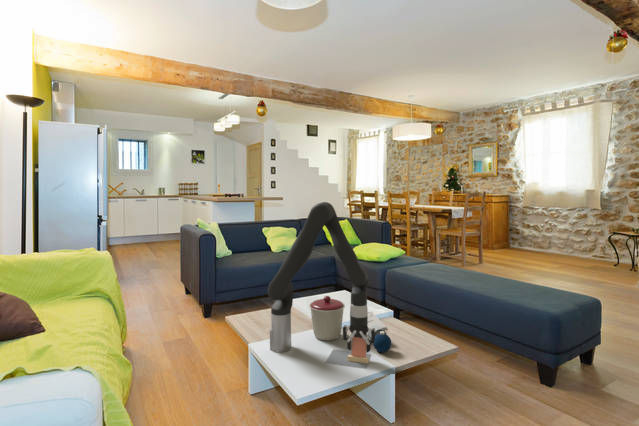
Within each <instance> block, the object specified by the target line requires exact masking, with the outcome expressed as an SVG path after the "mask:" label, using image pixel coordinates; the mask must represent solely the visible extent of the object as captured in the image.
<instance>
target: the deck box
mask: <svg viewBox="0 0 639 426" xmlns="http://www.w3.org/2000/svg"><path fill="white" fill-rule="evenodd" d="M351 352H352V355H353V356H361V357H366V354H367V343H366V341H365V340H364V339H363V338H359V337H354V336H353V338H352V342H351Z"/></svg>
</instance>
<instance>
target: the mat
mask: <svg viewBox="0 0 639 426" xmlns="http://www.w3.org/2000/svg"><path fill="white" fill-rule="evenodd" d="M372 355H373V354H372V353H366V357H361V356H353V355H352V351H351V350H343V349H342V350H341V349H332V351H331V352H330V354H329V355H328V357H327V358H326V360H325V362H324V364H328V365H337V366H345V367H351V368H357V369H364V370H365V369H366V370H367V368H368V366H369V362H370V360H371V357H372Z"/></svg>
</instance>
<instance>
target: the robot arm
mask: <svg viewBox="0 0 639 426" xmlns="http://www.w3.org/2000/svg"><path fill="white" fill-rule="evenodd" d="M324 227H325V228H326V230H327V231H328V233H329V236H330V238H331V242H332V245H333V248H334V250H335V253H336V255H337V257H338V259H339V261H340V262H341V264H342V265H343V268H344V270H345V272H346V275H347V277H348V279H349V282H350V283H351V285H352V286H351V287H352V288H351V292H350V308H349V309H350V311H349V326H348V325H345V324H344V326H343V327H342V340H343V341H345V342H346V348H347V350H348V351H352V340H353V336H354V337H359V338H363V339H364V340H365V341H366V343H367V349H366V354H369V353H370V351H371V345H373V344H374V341H375V329H374V328H373V329H369V328H368V312H369V311H368V310H369V309H368V284H369V282H368V281H369V274H368V271H367V269H365V268H364V267H362V266H361V265H360V263H359V261H358V256H357V254H356V252H355V251H354V249H353V247H352V245H351V244H350V242H349V240H348V238H347V237H346V234H345V232H344V230H343V227H342V226H341V224H340V220H339V218H338V215H337V212H336V210H335V208H334V206H333V205H332V204H331V203H330V202H326V201H324V202H320V203H316V204H314V205H313V206H312V207H311V209H310V211H309V213H308V215H307V217H306V221H305V223H304V224H303V227H302V229H301V230H300V232H299V233H298V234H297V237H296V238H295V240H294V241H293V243H292V245H291V246H290V249H289V251H288V253H287V254H286V256H285V258H284V260H283V262H282V264H281V266H280V268H279V270H278V272H277V273H276V274H275V276H274V277H273V278H272V280H271V281H270V282H269V284H268V287H267V294H268V297H269V298H270V299H271V300H272V301H274V302H273V304H271V305H272V306H271V308H270V309H271V310H270V313H271V314H270V315H271V321H270V322H271V323H270V324H271V325H270V326H271V327H270V329H269V349H270V350H272V351H273V352H277V353H284V352H288V351H290V350H291V349H292V307H293V297H294V294H293V293H294V288H293V283H292V279H293V278H294V277H295V276H296V275H297V273H299V272H300V271H301V269H302V268H303V267H304V266H305V265H306V263H307V262H308V261H309V259H310V257H311V255H312V253H313V250H314V248H315V243H316V239H317V237H318V236H319V233H320V232H321V231H322V229H323V228H324ZM348 331H349V332H350V335H349V336H348ZM368 331H369V332H370V334H371V340H370V338H369V337H368V334H367V332H368Z"/></svg>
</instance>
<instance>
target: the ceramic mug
mask: <svg viewBox="0 0 639 426" xmlns="http://www.w3.org/2000/svg"><path fill="white" fill-rule="evenodd" d="M373 328H374V329H375V336H376V335H377V334H380V331H384V334H386V335H388V333H387V332H386V330H383V329H382V328H380V327H379V326H376V325H372V326H371V327H369V329H373ZM367 335H368V337H369V339H370V340H371V334H370V332H369V331H368V332H367Z"/></svg>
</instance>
